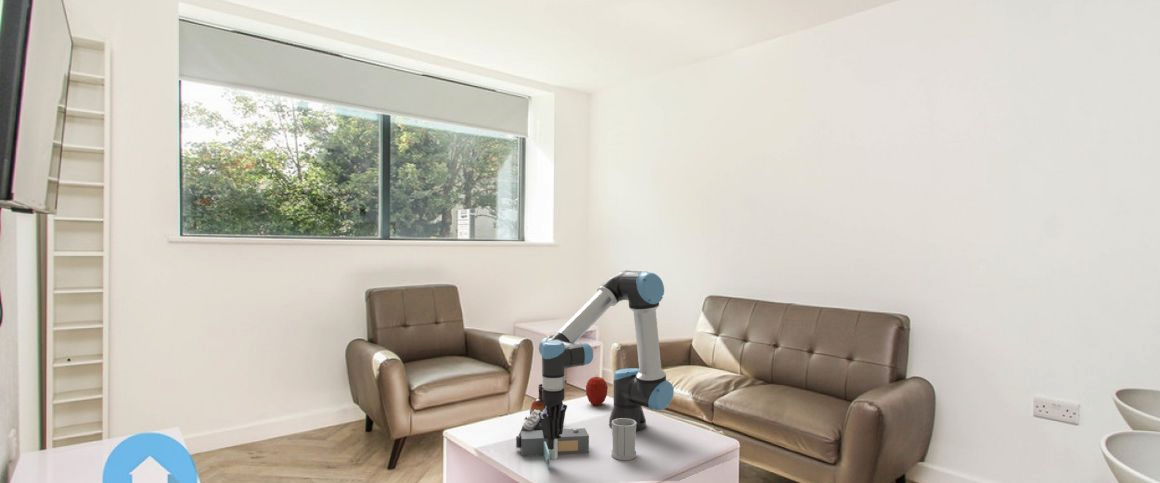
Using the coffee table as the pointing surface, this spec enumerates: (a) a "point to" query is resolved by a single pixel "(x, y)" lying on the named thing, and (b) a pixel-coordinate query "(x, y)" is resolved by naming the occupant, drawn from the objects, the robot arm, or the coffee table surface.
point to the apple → (596, 390)
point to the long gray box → (567, 443)
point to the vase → (538, 402)
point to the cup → (623, 438)
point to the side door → (546, 454)
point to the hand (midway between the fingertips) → (553, 457)
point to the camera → (532, 422)
